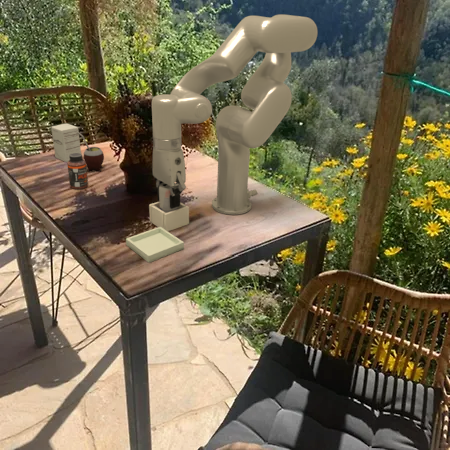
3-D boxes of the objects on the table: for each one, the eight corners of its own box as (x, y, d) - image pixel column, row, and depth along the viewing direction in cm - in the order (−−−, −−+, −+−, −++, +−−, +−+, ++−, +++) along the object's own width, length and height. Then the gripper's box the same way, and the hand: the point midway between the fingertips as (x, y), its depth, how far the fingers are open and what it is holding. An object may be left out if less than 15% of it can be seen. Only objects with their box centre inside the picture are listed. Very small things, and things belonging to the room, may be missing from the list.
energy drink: (169, 216, 137) (168, 179, 131) (182, 222, 134) (181, 185, 128) (156, 222, 133) (154, 185, 127) (169, 228, 130) (168, 190, 124)
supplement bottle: (81, 191, 151) (77, 158, 145) (66, 188, 152) (61, 156, 147) (91, 184, 156) (88, 153, 150) (77, 181, 157) (73, 150, 152)
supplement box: (55, 158, 177) (50, 126, 171) (71, 153, 182) (67, 122, 176) (65, 162, 173) (61, 130, 167) (82, 158, 178) (78, 126, 172)
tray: (160, 232, 128) (160, 226, 127) (183, 248, 121) (183, 242, 120) (126, 245, 121) (125, 238, 120) (148, 262, 114) (148, 256, 113)
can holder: (172, 213, 138) (172, 197, 136) (188, 223, 133) (188, 207, 130) (149, 221, 134) (149, 204, 131) (165, 232, 128) (165, 214, 126)
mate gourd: (108, 169, 168) (105, 130, 161) (90, 175, 163) (86, 134, 156) (96, 164, 172) (92, 125, 165) (78, 170, 167) (73, 130, 160)
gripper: (198, 148, 118) (197, 210, 127) (160, 132, 130) (162, 190, 138) (174, 154, 114) (175, 217, 123) (138, 137, 125) (141, 196, 134)
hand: (168, 202), depth 130 cm, fingers closed on energy drink, 5 cm apart
